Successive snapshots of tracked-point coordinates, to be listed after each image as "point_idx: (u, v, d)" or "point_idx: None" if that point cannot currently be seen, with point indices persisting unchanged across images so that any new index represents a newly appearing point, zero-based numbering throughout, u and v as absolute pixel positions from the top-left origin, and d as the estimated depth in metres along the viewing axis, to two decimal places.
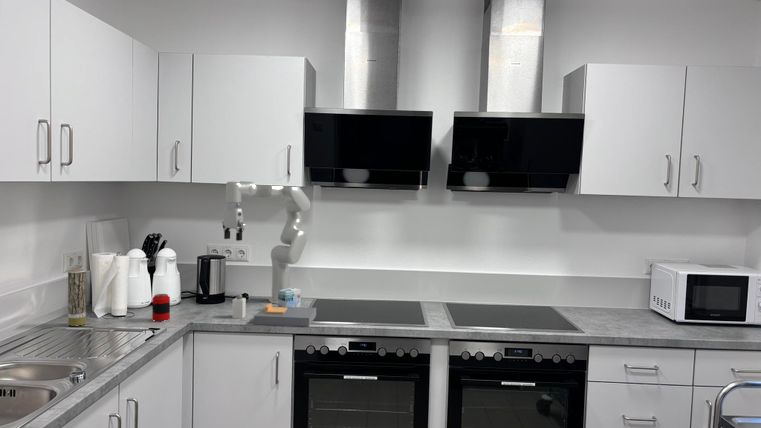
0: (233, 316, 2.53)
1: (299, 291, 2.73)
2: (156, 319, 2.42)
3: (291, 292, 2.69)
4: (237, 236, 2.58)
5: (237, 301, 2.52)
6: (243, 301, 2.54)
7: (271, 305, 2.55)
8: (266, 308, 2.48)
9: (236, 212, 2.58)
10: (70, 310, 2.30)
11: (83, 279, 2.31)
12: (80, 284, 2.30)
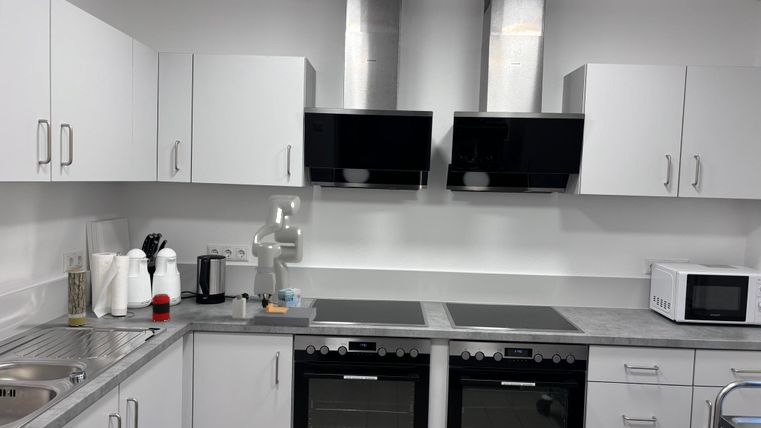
0: (233, 316, 2.53)
1: (299, 291, 2.73)
2: (156, 319, 2.42)
3: (291, 292, 2.69)
4: None
5: (237, 301, 2.52)
6: (243, 301, 2.54)
7: (272, 305, 2.55)
8: (267, 308, 2.48)
9: None
10: (70, 310, 2.30)
11: (83, 279, 2.31)
12: (80, 284, 2.30)
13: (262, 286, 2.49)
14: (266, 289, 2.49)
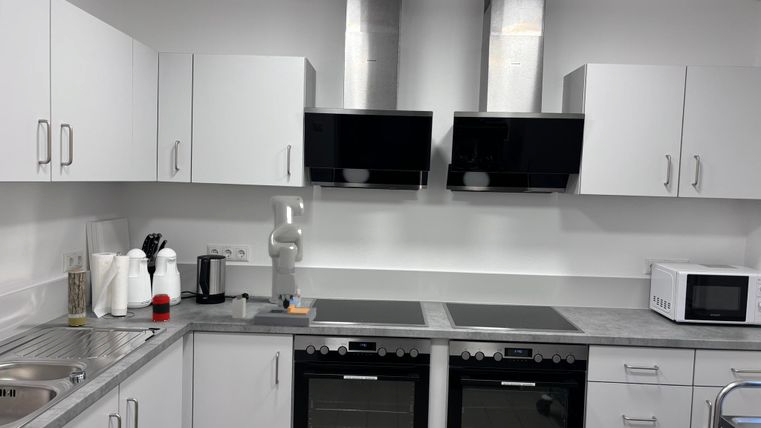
0: (233, 316, 2.53)
1: (299, 291, 2.73)
2: (156, 319, 2.42)
3: None
4: None
5: (237, 301, 2.52)
6: (243, 301, 2.54)
7: (293, 306, 2.55)
8: (289, 309, 2.48)
9: None
10: (70, 310, 2.30)
11: (83, 279, 2.31)
12: (80, 284, 2.30)
13: (284, 287, 2.49)
14: (288, 290, 2.48)
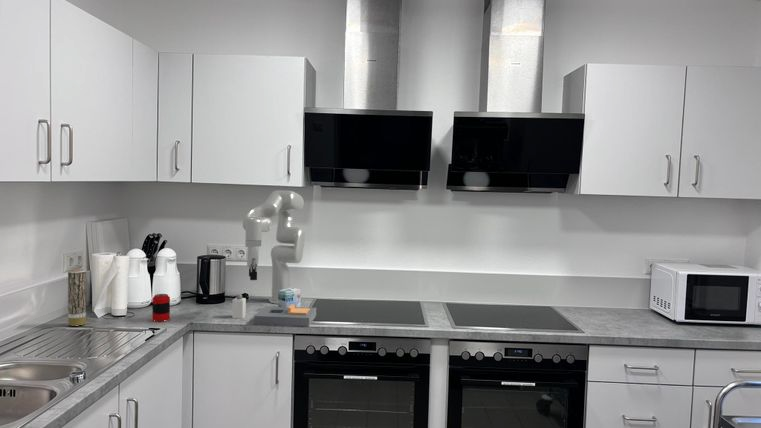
0: (233, 316, 2.53)
1: (299, 291, 2.73)
2: (156, 319, 2.42)
3: (291, 292, 2.69)
4: None
5: (237, 301, 2.52)
6: (243, 301, 2.54)
7: (293, 306, 2.55)
8: (289, 309, 2.48)
9: None
10: (70, 310, 2.30)
11: (83, 279, 2.31)
12: (80, 284, 2.30)
13: None
14: (247, 262, 2.51)
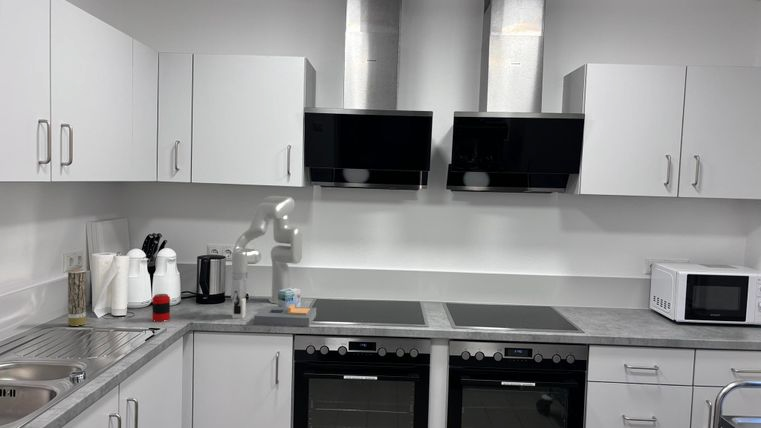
0: (233, 316, 2.53)
1: (299, 291, 2.73)
2: (156, 319, 2.42)
3: (291, 292, 2.69)
4: None
5: None
6: (243, 301, 2.54)
7: (293, 306, 2.55)
8: (289, 309, 2.48)
9: None
10: (70, 310, 2.30)
11: (83, 279, 2.31)
12: (80, 284, 2.30)
13: None
14: None
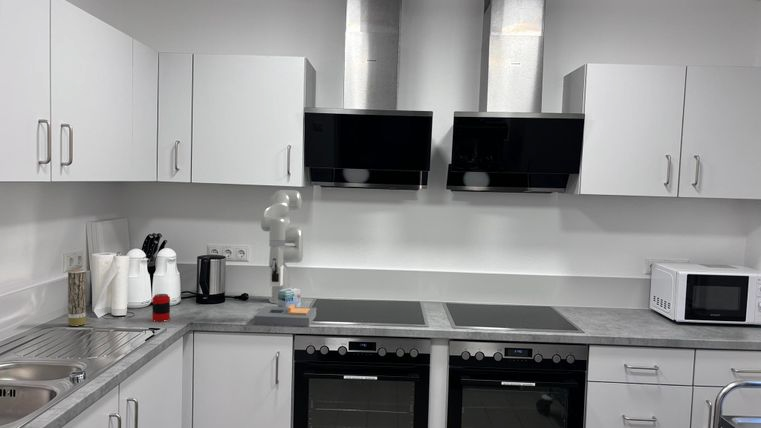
0: (271, 284, 2.49)
1: (299, 291, 2.73)
2: (156, 319, 2.42)
3: (291, 292, 2.69)
4: None
5: None
6: (281, 269, 2.50)
7: (293, 306, 2.55)
8: (289, 309, 2.48)
9: None
10: (70, 310, 2.30)
11: (83, 279, 2.31)
12: (80, 284, 2.30)
13: None
14: None
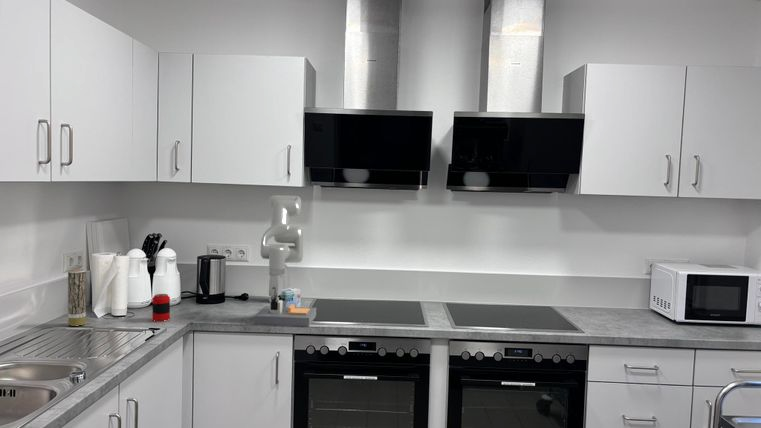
0: None
1: (299, 291, 2.73)
2: (156, 319, 2.42)
3: (291, 292, 2.69)
4: None
5: None
6: (280, 303, 2.51)
7: (293, 306, 2.55)
8: (289, 309, 2.48)
9: None
10: (70, 310, 2.30)
11: (83, 279, 2.31)
12: (80, 284, 2.30)
13: None
14: None
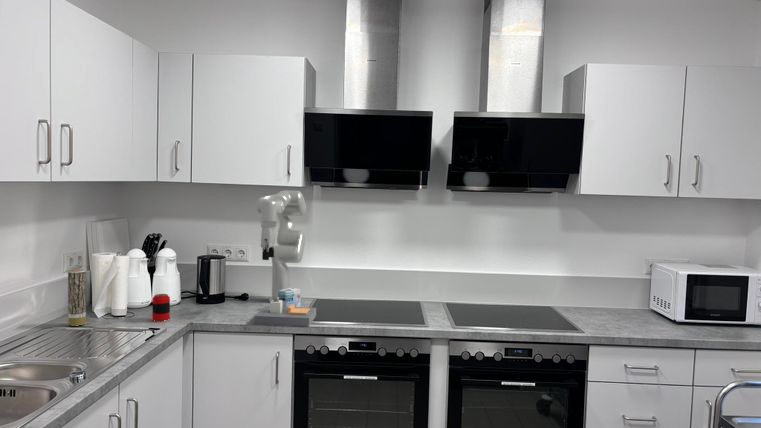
0: None
1: (299, 291, 2.73)
2: (156, 319, 2.42)
3: (291, 292, 2.69)
4: None
5: (275, 303, 2.49)
6: (280, 303, 2.51)
7: (293, 306, 2.55)
8: (289, 309, 2.48)
9: None
10: (70, 310, 2.30)
11: (83, 279, 2.31)
12: (80, 284, 2.30)
13: None
14: None
